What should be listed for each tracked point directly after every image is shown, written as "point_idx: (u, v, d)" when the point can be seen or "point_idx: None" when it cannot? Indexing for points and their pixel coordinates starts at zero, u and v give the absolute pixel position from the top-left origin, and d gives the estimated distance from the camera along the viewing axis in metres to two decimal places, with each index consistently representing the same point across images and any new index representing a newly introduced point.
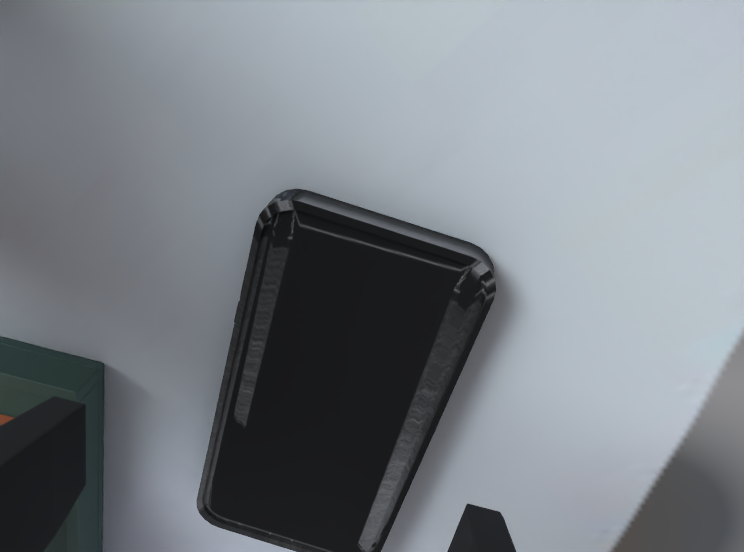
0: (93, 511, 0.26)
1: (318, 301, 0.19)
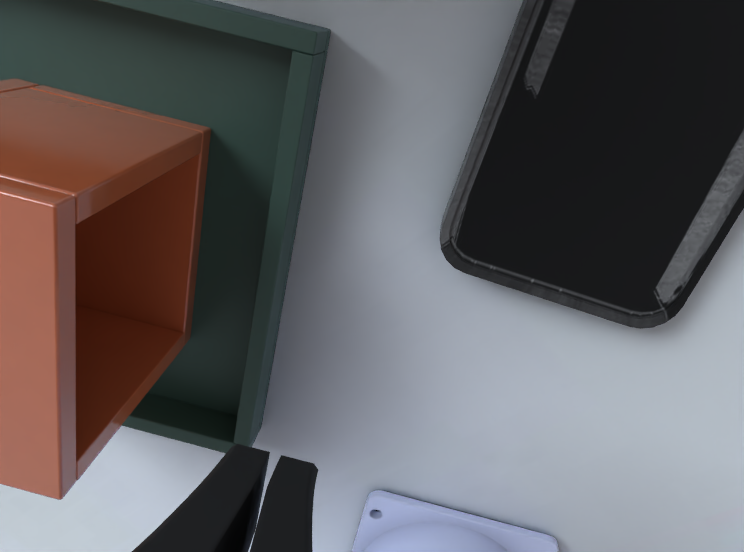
0: (285, 267, 0.20)
1: None
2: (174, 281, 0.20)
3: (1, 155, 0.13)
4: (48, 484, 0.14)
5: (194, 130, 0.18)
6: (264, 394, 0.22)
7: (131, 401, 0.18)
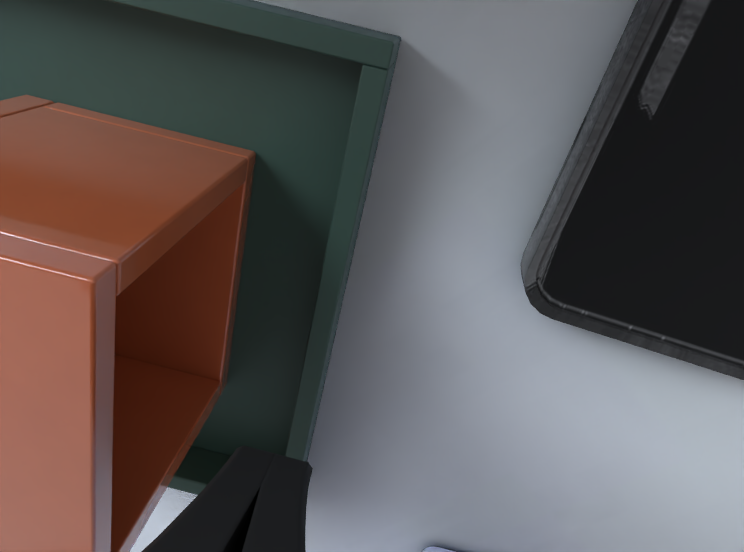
0: (338, 310, 0.17)
1: None
2: (210, 325, 0.18)
3: (18, 205, 0.10)
4: None
5: (238, 156, 0.15)
6: (309, 445, 0.20)
7: (168, 474, 0.15)
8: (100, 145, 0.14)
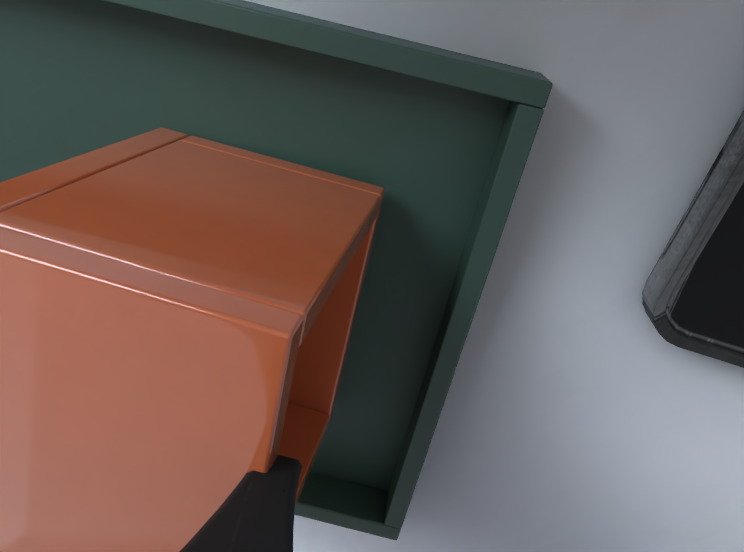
0: None
1: None
2: (324, 358, 0.17)
3: (195, 250, 0.10)
4: None
5: (371, 193, 0.15)
6: None
7: None
8: (245, 182, 0.14)
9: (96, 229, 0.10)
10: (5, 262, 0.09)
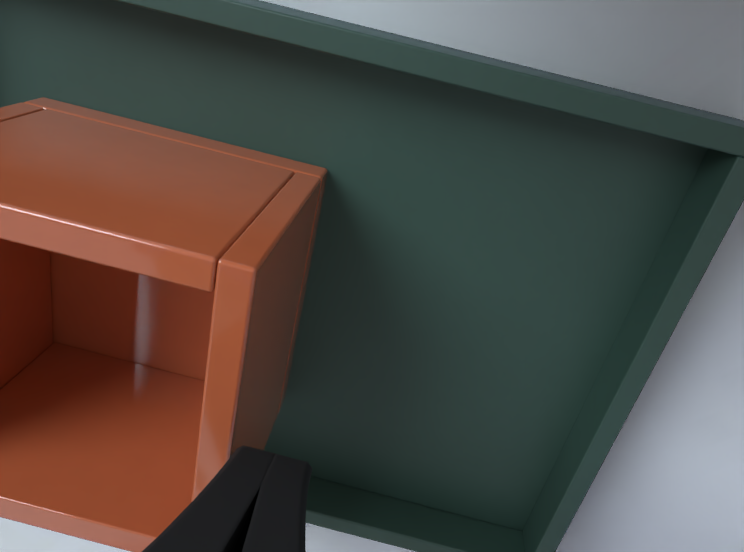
0: None
1: None
2: None
3: None
4: None
5: (220, 254, 0.10)
6: None
7: (23, 509, 0.13)
8: (185, 182, 0.13)
9: (31, 126, 0.14)
10: None
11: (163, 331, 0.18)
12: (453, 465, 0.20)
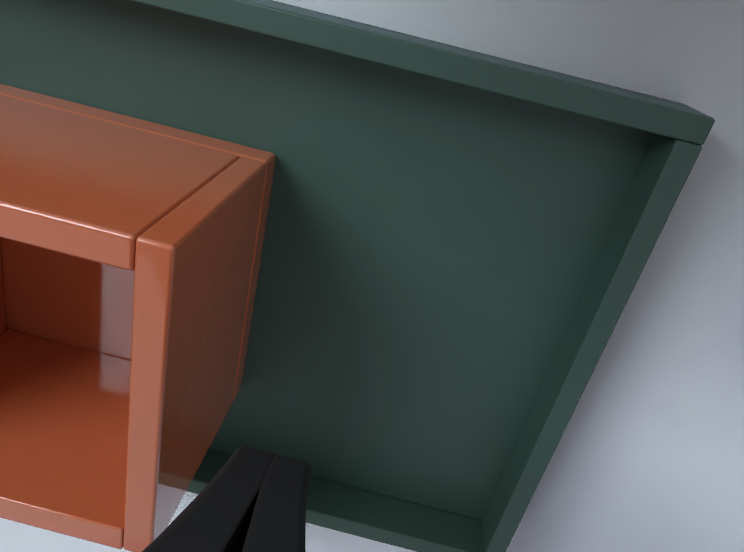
0: None
1: None
2: None
3: None
4: None
5: (140, 232, 0.10)
6: None
7: None
8: (120, 164, 0.13)
9: None
10: None
11: (115, 318, 0.18)
12: (410, 454, 0.20)
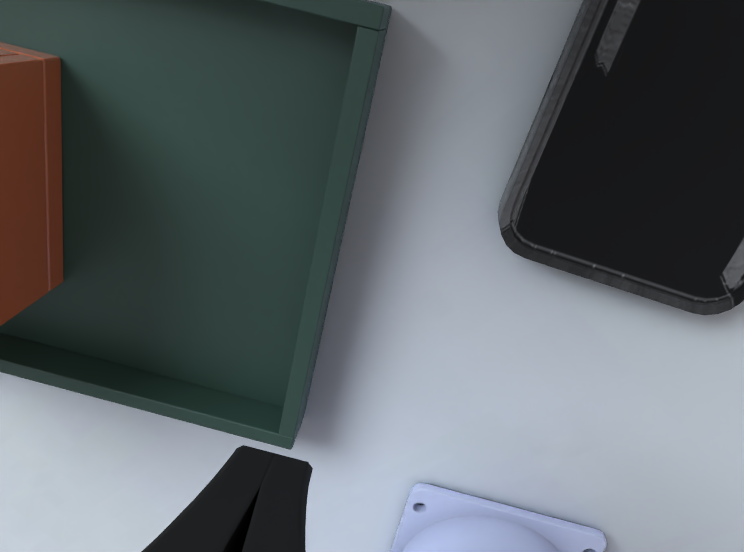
0: (336, 253, 0.19)
1: None
2: None
3: None
4: None
5: None
6: (309, 384, 0.22)
7: None
8: None
9: None
10: None
11: None
12: (218, 344, 0.22)
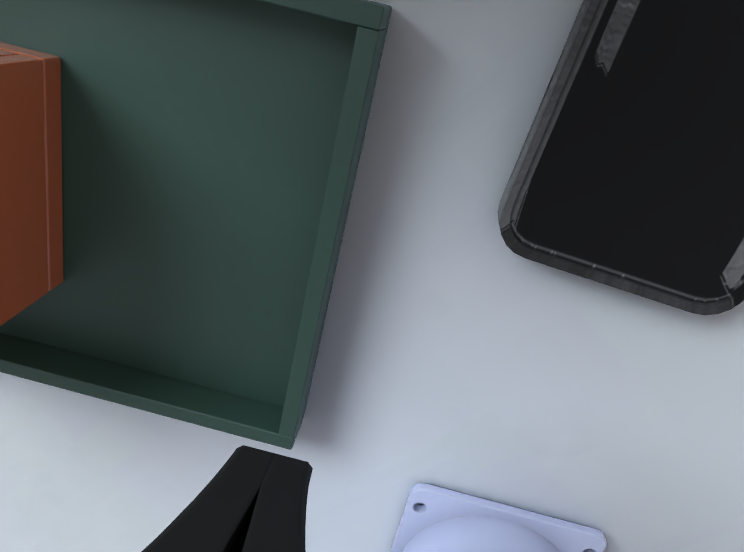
0: (336, 253, 0.19)
1: None
2: None
3: None
4: None
5: None
6: (309, 384, 0.22)
7: None
8: None
9: None
10: None
11: None
12: (218, 344, 0.22)
